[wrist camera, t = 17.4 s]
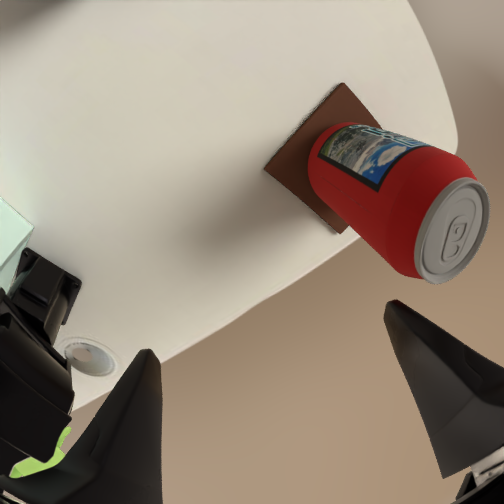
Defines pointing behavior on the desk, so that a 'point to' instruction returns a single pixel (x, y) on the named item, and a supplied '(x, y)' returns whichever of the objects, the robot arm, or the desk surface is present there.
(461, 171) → the beverage can
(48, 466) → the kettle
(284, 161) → the mat
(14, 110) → the desk surface
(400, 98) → the desk surface
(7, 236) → the l-shaped corner panel
